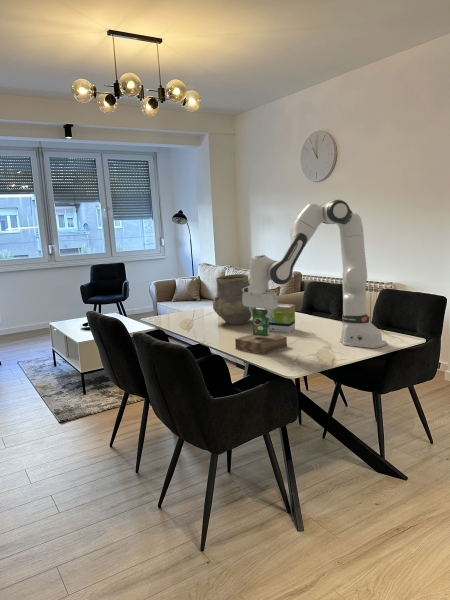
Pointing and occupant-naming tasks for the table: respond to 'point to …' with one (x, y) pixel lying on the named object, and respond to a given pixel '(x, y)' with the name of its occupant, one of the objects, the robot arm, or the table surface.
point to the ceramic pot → (232, 299)
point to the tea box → (282, 318)
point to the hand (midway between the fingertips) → (260, 316)
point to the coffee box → (260, 322)
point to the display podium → (261, 343)
